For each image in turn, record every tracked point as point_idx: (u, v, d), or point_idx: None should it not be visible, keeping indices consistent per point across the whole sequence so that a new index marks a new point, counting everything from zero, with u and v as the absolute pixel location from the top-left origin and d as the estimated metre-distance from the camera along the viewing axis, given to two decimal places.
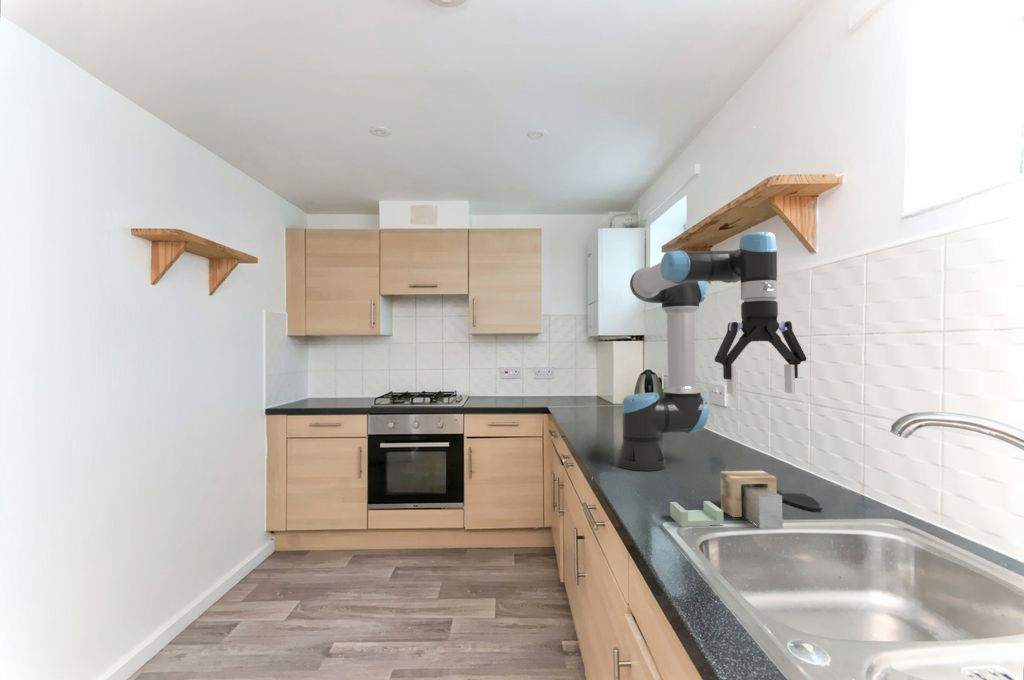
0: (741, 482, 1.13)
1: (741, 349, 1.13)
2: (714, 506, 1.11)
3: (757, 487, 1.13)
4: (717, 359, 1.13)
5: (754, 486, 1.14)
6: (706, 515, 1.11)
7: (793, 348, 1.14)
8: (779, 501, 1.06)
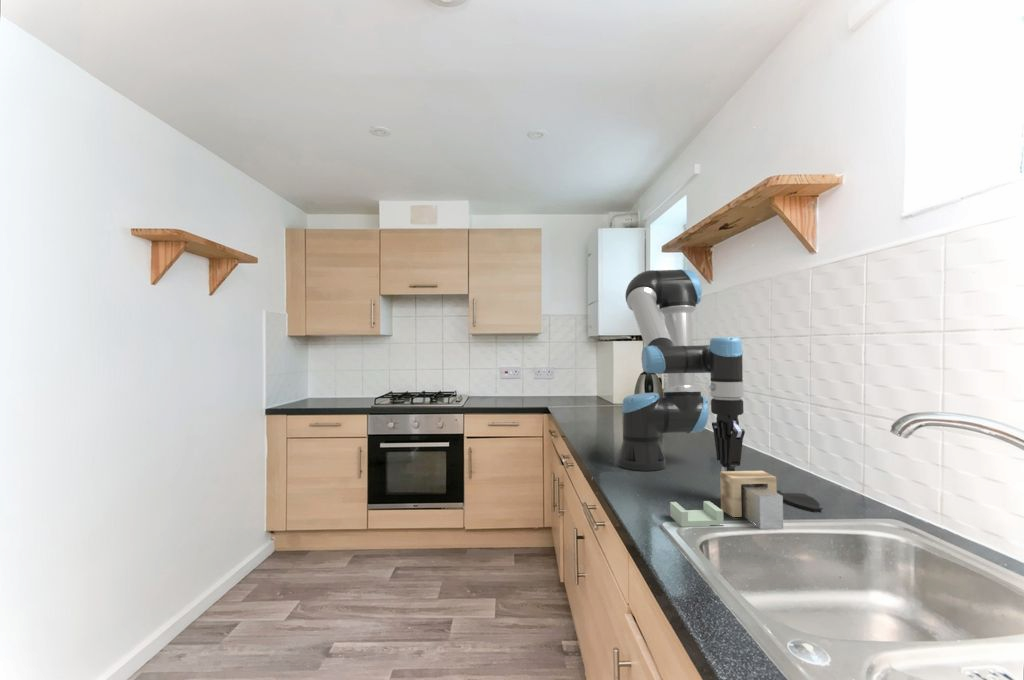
0: (741, 482, 1.13)
1: (721, 446, 1.26)
2: (714, 506, 1.11)
3: (758, 487, 1.12)
4: None
5: (755, 486, 1.13)
6: (706, 515, 1.11)
7: None
8: (780, 502, 1.06)
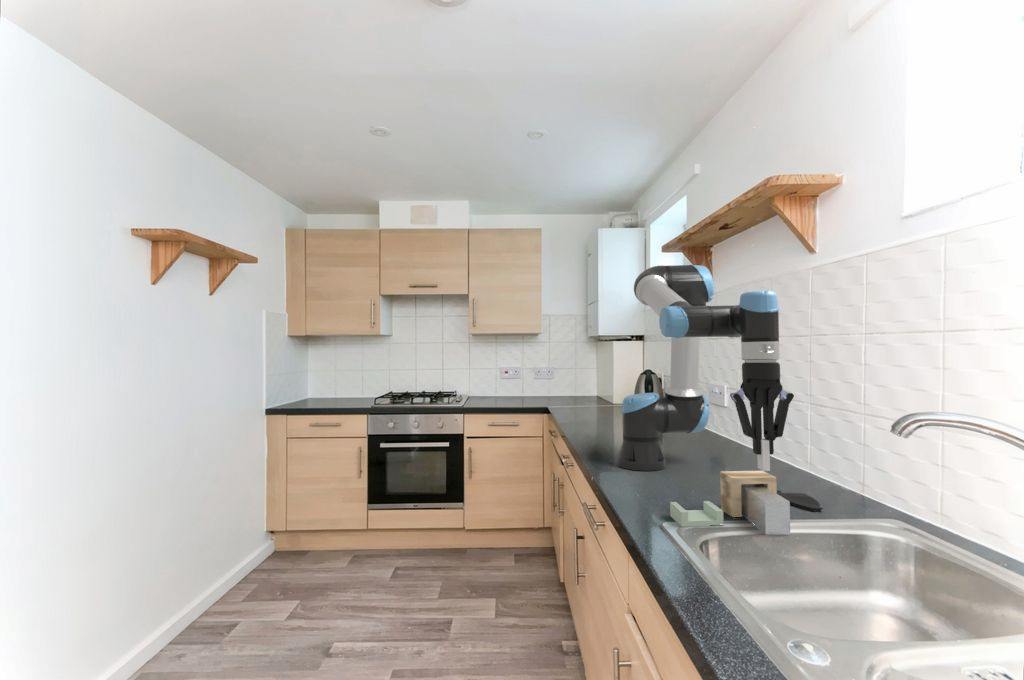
0: (741, 482, 1.13)
1: (759, 418, 1.08)
2: (714, 506, 1.11)
3: (765, 492, 1.09)
4: (746, 435, 1.09)
5: (762, 491, 1.10)
6: (706, 515, 1.11)
7: (778, 419, 1.08)
8: (787, 507, 1.02)
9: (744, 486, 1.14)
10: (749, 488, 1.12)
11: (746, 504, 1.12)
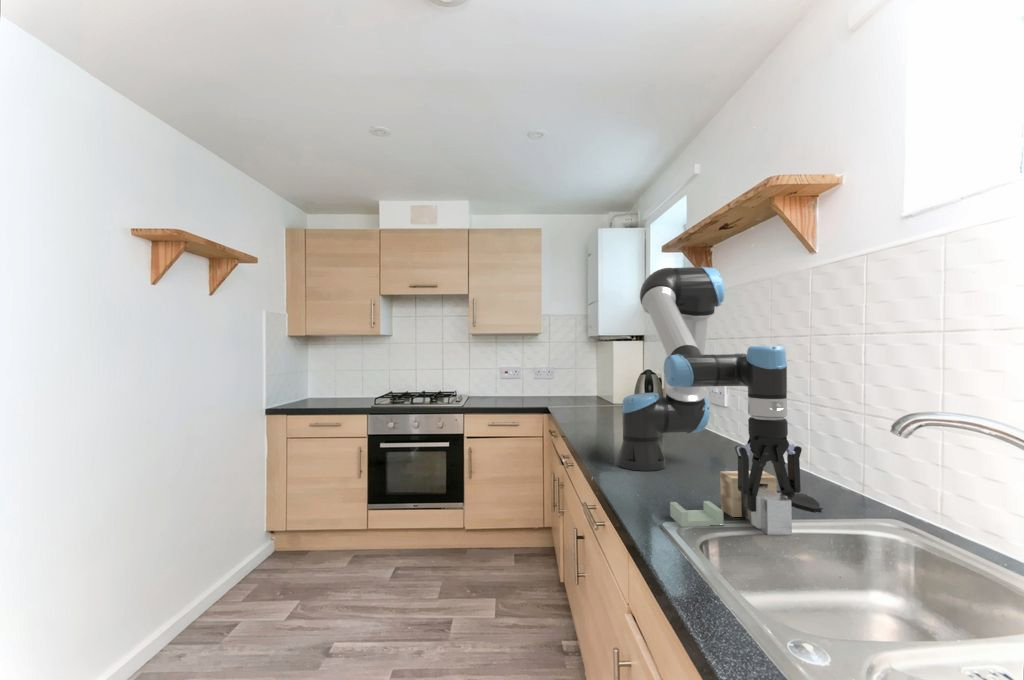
0: None
1: (759, 475, 1.05)
2: (714, 506, 1.11)
3: (766, 491, 1.09)
4: (741, 491, 1.06)
5: (763, 490, 1.10)
6: (706, 515, 1.11)
7: (792, 475, 1.06)
8: (789, 506, 1.03)
9: None
10: None
11: (746, 503, 1.12)
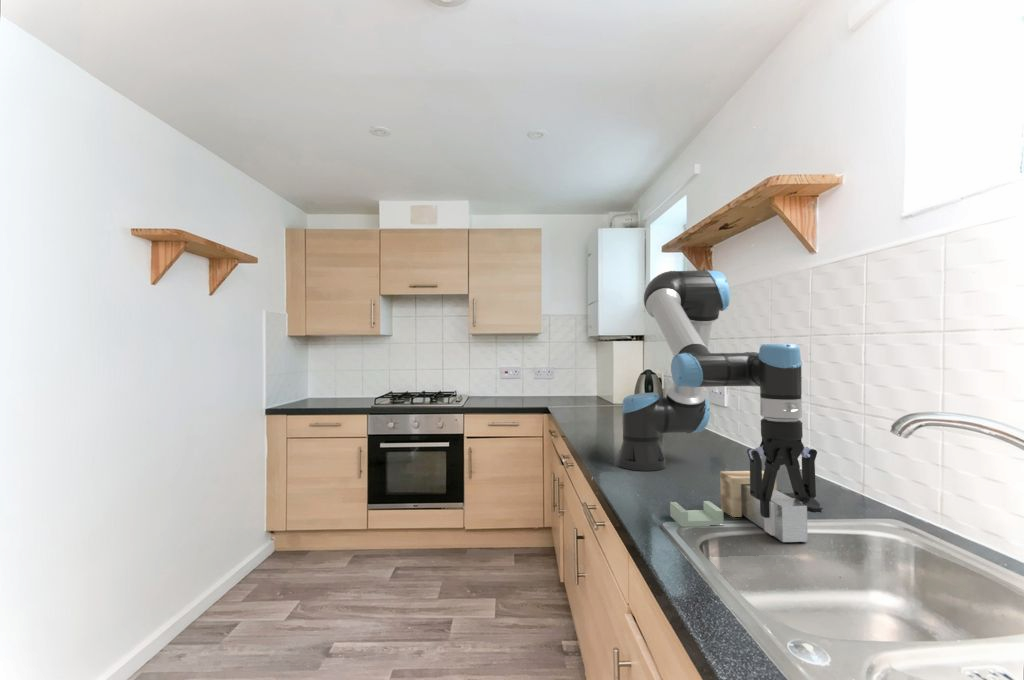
0: (741, 482, 1.13)
1: (773, 480, 1.00)
2: (714, 506, 1.11)
3: (779, 496, 1.04)
4: (754, 496, 1.01)
5: (775, 494, 1.05)
6: (706, 515, 1.11)
7: (807, 479, 1.01)
8: (804, 512, 0.98)
9: None
10: None
11: (757, 508, 1.07)
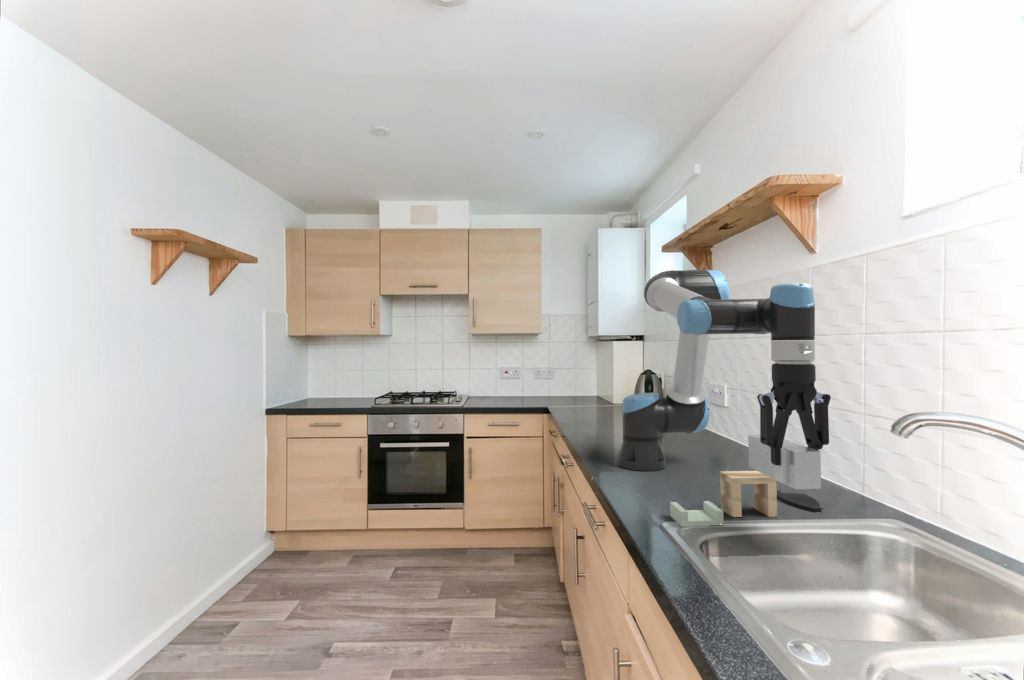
0: (741, 482, 1.13)
1: (785, 426, 0.96)
2: (714, 506, 1.11)
3: (790, 444, 1.00)
4: (764, 443, 0.97)
5: (786, 443, 1.01)
6: (706, 515, 1.11)
7: (820, 426, 0.97)
8: (818, 458, 0.93)
9: None
10: None
11: (768, 458, 1.02)
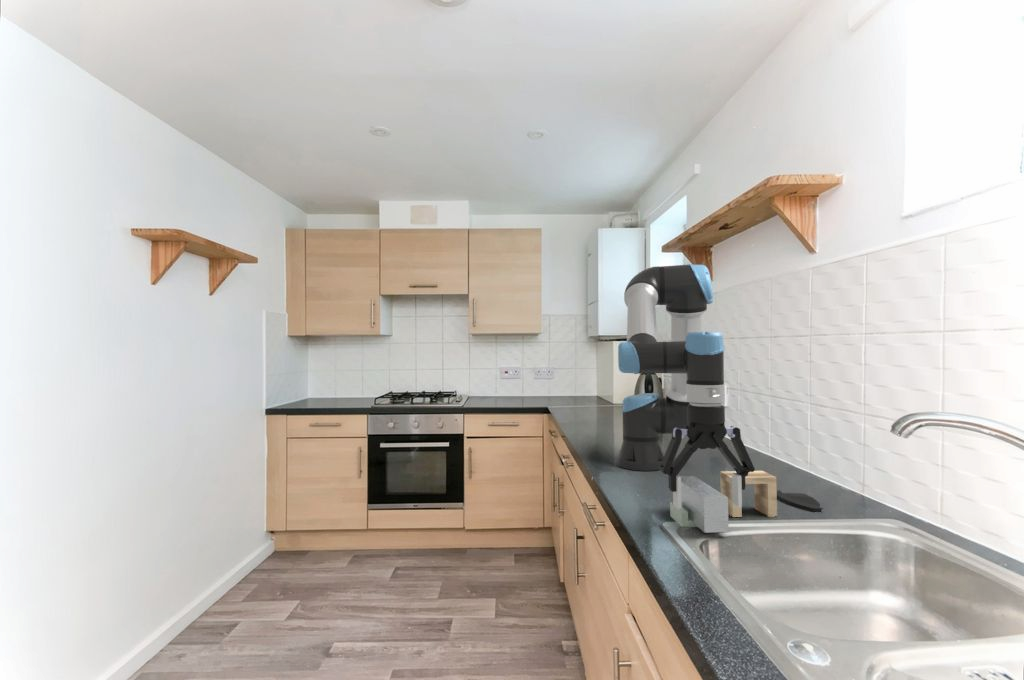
0: None
1: (686, 459, 1.04)
2: None
3: (705, 488, 1.08)
4: (661, 469, 1.05)
5: (702, 487, 1.08)
6: None
7: (741, 456, 1.05)
8: (725, 503, 1.01)
9: (684, 483, 1.12)
10: (689, 485, 1.10)
11: (686, 501, 1.10)
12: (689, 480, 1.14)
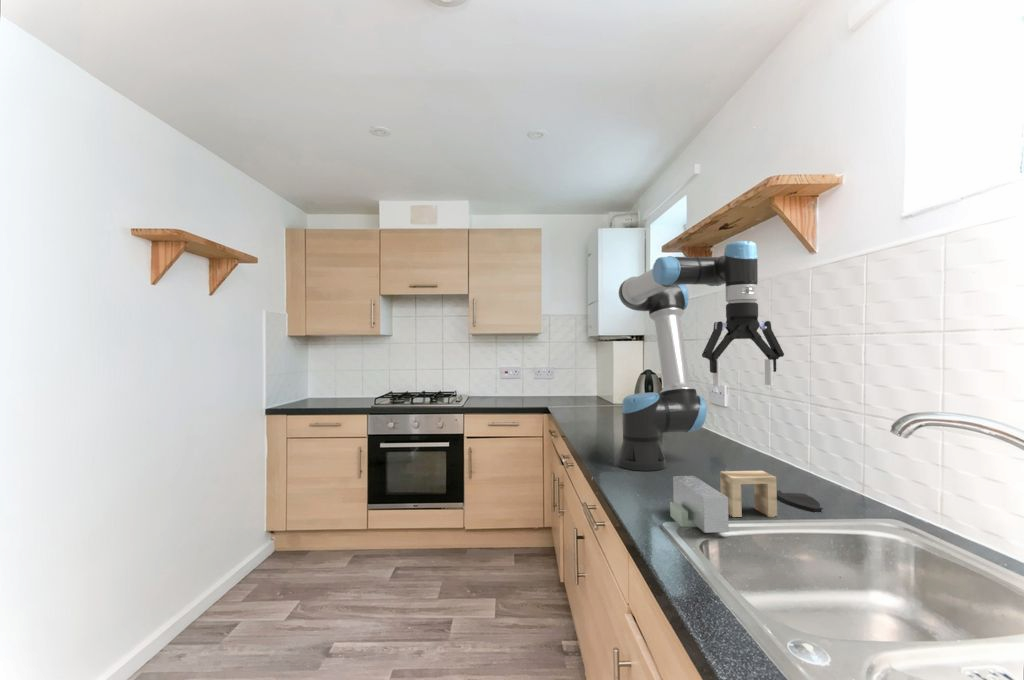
0: (741, 482, 1.13)
1: (725, 346, 1.26)
2: None
3: (705, 488, 1.08)
4: (704, 355, 1.27)
5: (702, 487, 1.08)
6: None
7: (772, 345, 1.27)
8: (725, 503, 1.01)
9: (684, 483, 1.12)
10: (689, 485, 1.10)
11: (686, 501, 1.10)
12: (689, 480, 1.14)
